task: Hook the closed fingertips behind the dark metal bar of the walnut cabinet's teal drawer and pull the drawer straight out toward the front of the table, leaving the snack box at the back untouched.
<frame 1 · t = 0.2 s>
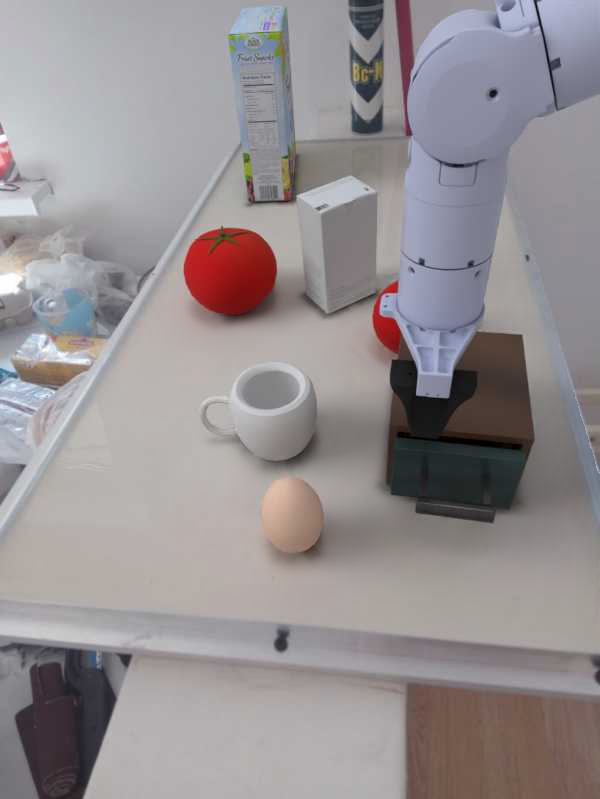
hand: (427, 399, 44), 11 cm above the table, tool pointing down, fingers open, 7 cm apart
snack box: (275, 179, 104), on the table
egg: (296, 541, 48), on the table
tomato: (237, 303, 76), on the table
mug: (262, 441, 57), on the table
drawer: (454, 443, 49), point 4 cm above the table, slide at 0.5 cm
ornament: (408, 348, 66), on the table
cabinet: (449, 438, 55), on the table
cosmetic box: (340, 297, 75), on the table
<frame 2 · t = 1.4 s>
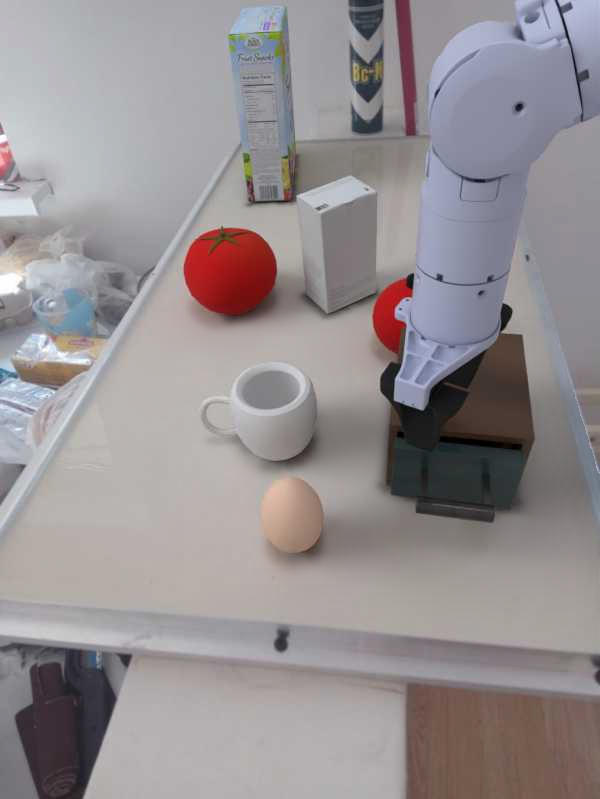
hand: (439, 412, 43), 11 cm above the table, tool pointing down, fingers open, 7 cm apart
nothing on the table moved.
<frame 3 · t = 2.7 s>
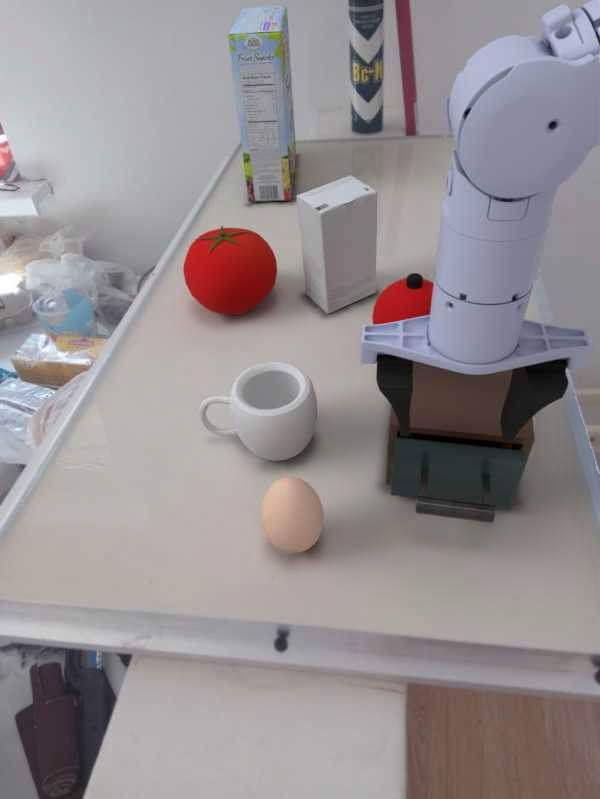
hand: (454, 429, 42), 11 cm above the table, tool pointing down, fingers open, 7 cm apart
nothing on the table moved.
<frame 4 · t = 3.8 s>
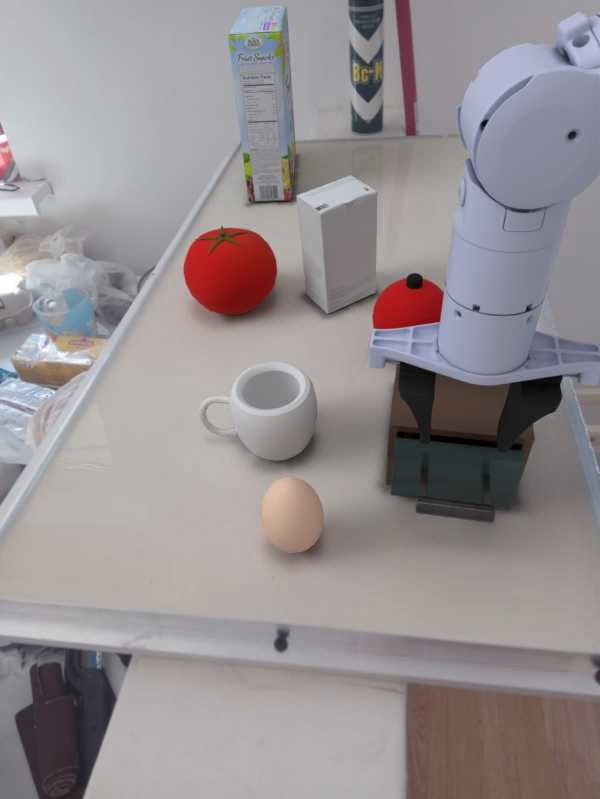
hand: (463, 438, 42), 10 cm above the table, tool pointing down, fingers open, 5 cm apart
nothing on the table moved.
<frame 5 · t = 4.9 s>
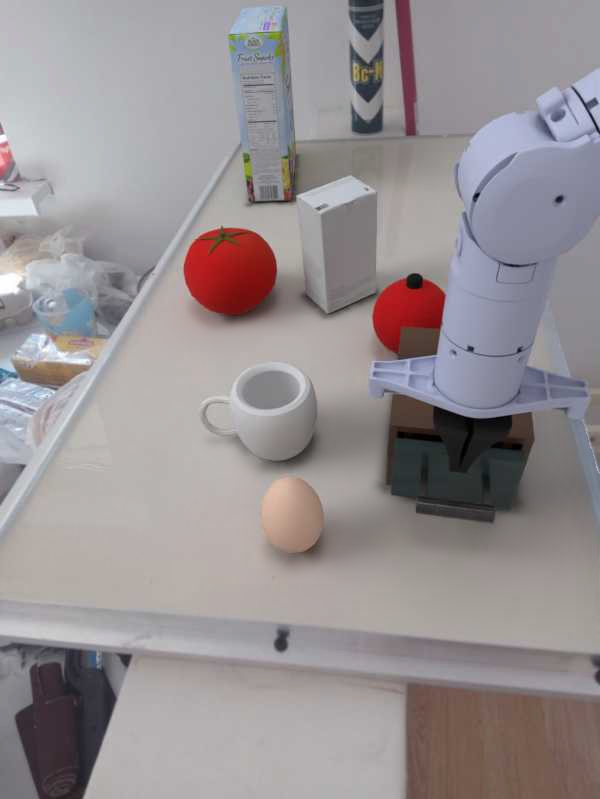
hand: (456, 462, 44), 7 cm above the table, tool pointing down, fingers closed, pressing on drawer
drawer: (454, 443, 49), point 4 cm above the table, slide at 0.5 cm, touching gripper
everything else where it was.
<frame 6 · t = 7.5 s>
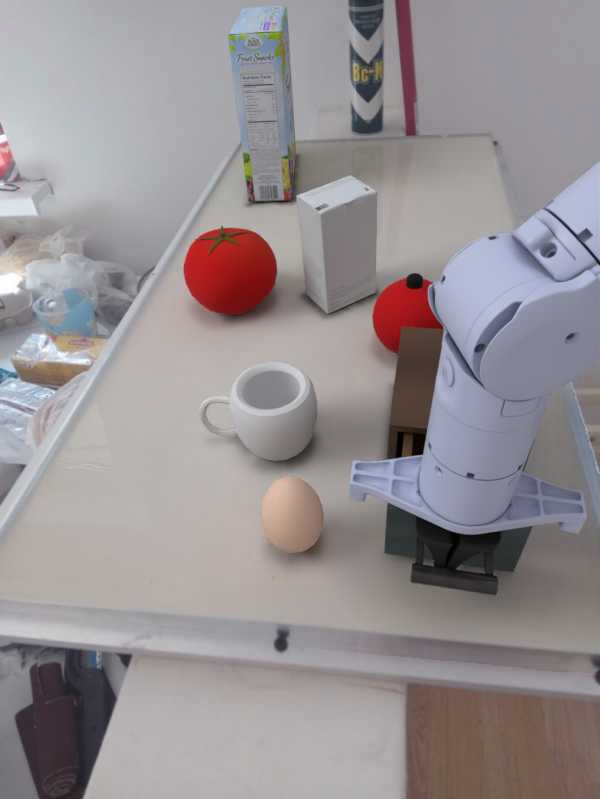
hand: (444, 559, 41), 5 cm above the table, tool pointing down, fingers closed, pressing on drawer
drawer: (453, 498, 45), point 4 cm above the table, slide at 6.5 cm, touching gripper
everything else where it was.
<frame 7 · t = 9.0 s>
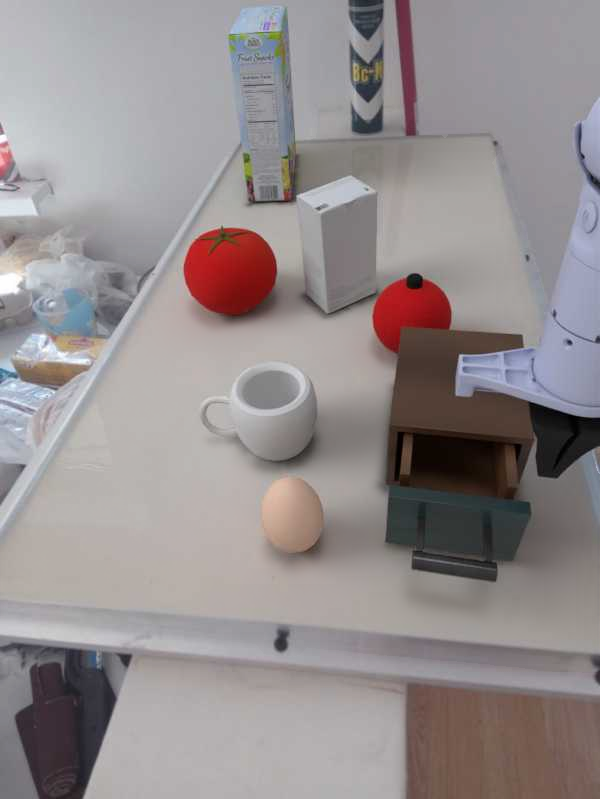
hand: (546, 466, 39), 10 cm above the table, tool pointing down, fingers closed
drawer: (453, 488, 46), point 4 cm above the table, slide at 5.5 cm
everything else where it was.
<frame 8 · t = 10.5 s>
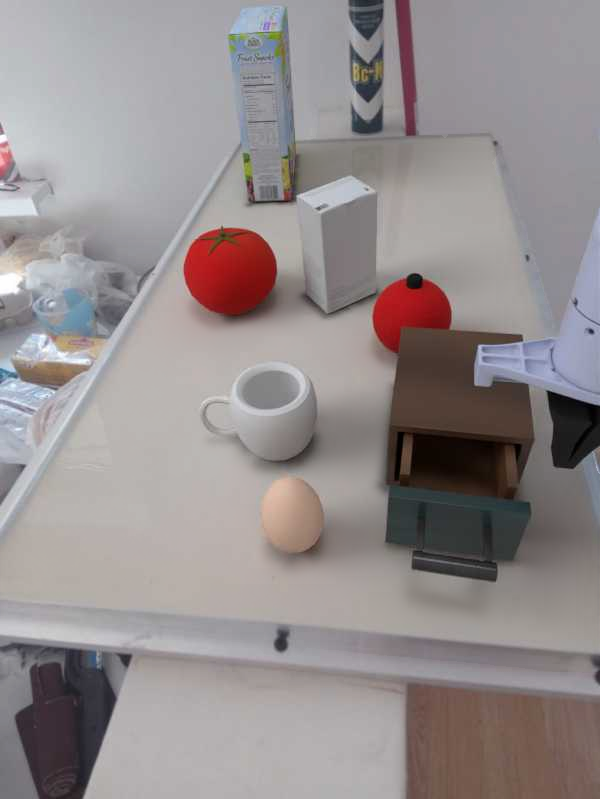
hand: (562, 457, 40), 10 cm above the table, tool pointing down, fingers closed
nothing on the table moved.
at the end: drawer slide at 5.5 cm; snack box moved 0.2 cm from its start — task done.
